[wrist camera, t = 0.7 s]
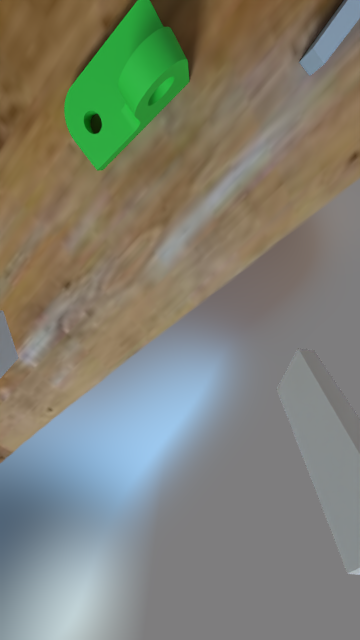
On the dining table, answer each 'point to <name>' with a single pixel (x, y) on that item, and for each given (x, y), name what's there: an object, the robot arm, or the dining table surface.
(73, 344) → the dining table surface
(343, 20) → the hub cradle
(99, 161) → the mechanical part
